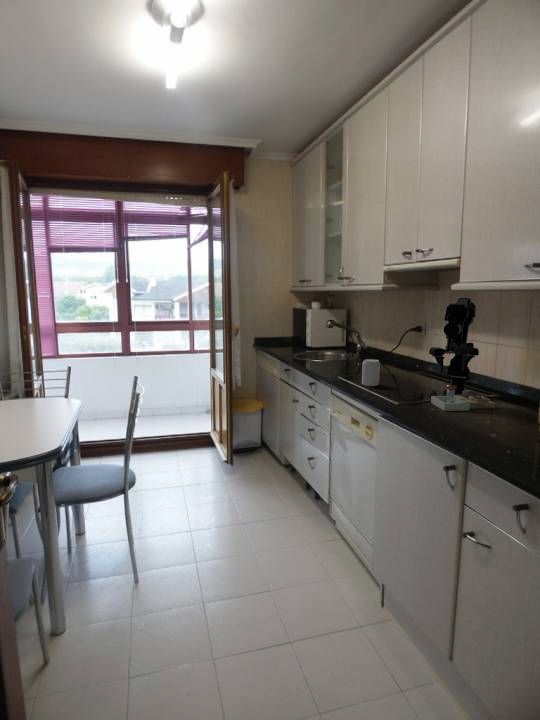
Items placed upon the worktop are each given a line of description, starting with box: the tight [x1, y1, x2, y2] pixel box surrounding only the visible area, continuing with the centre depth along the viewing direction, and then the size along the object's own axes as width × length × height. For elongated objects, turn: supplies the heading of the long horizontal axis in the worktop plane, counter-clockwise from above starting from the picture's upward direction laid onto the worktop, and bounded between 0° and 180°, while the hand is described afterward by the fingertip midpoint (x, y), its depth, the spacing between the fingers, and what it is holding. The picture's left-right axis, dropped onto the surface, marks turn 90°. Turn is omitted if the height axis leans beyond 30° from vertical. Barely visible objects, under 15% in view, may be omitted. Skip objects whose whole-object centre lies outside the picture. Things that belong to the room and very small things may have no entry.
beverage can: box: [361, 358, 381, 387], centre depth 215 cm, size 8×8×12 cm
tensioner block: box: [454, 389, 496, 409], centre depth 183 cm, size 14×10×5 cm
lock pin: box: [445, 383, 456, 403], centre depth 178 cm, size 4×4×8 cm
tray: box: [430, 395, 471, 412], centre depth 178 cm, size 12×10×3 cm
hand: (452, 371), depth 186 cm, fingers open, 9 cm apart
